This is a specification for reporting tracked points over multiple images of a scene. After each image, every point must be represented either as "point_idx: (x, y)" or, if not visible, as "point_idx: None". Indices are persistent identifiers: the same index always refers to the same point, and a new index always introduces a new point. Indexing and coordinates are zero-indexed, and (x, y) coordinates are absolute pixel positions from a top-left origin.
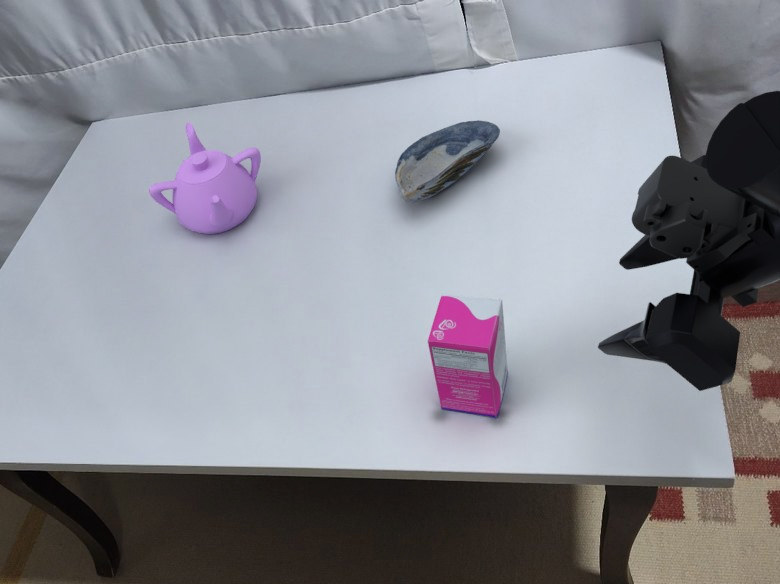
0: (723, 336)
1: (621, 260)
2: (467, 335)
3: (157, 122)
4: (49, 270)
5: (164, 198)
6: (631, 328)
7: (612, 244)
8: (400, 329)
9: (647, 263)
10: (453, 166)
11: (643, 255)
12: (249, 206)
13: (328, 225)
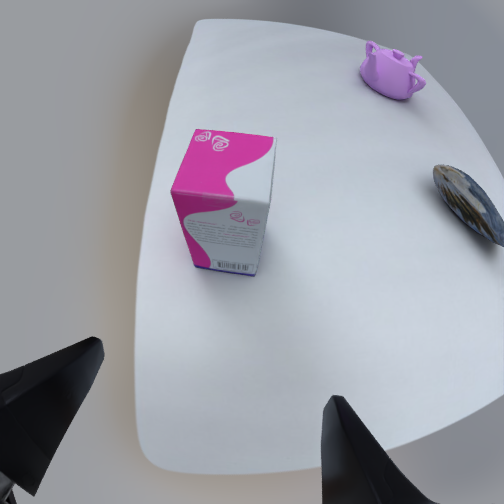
0: None
1: (335, 400)
2: (197, 164)
3: (427, 74)
4: (314, 34)
5: (370, 50)
6: (23, 383)
7: (427, 370)
8: (302, 178)
9: (324, 450)
10: (472, 208)
11: (335, 446)
12: (389, 90)
13: (396, 134)
